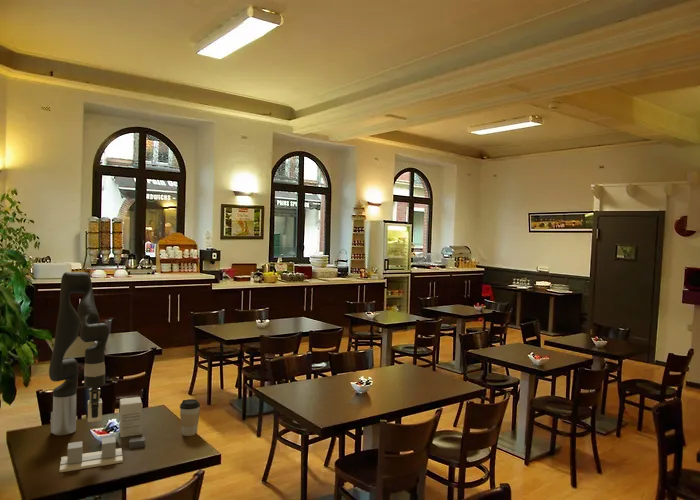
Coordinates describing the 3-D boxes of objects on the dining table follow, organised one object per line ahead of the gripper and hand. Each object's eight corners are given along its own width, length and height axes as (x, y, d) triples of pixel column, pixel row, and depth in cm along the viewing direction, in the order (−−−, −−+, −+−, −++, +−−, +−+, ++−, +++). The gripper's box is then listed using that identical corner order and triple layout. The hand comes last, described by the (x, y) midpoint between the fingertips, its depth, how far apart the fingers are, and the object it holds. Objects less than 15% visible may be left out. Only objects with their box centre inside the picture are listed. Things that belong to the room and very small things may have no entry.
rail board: (59, 472, 193) (59, 453, 193) (61, 459, 204) (61, 441, 204) (122, 462, 203) (122, 444, 203) (121, 450, 214) (121, 433, 213)
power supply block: (129, 448, 216) (129, 441, 216) (130, 445, 220) (130, 438, 220) (144, 447, 218) (144, 440, 218) (144, 443, 222) (145, 436, 221)
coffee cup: (201, 429, 239) (202, 397, 238) (196, 436, 230) (197, 404, 229) (182, 428, 238) (183, 397, 238) (176, 436, 229) (177, 403, 229)
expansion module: (87, 422, 200) (87, 404, 200) (87, 417, 206) (87, 399, 205) (101, 420, 203) (101, 402, 202) (101, 415, 208) (101, 398, 208)
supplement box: (119, 430, 234) (119, 398, 234) (140, 427, 238) (140, 396, 238) (120, 437, 226) (120, 404, 226) (141, 434, 230) (142, 402, 230)
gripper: (84, 370, 208) (84, 410, 209) (84, 378, 196) (84, 422, 196) (104, 368, 212) (104, 408, 212) (105, 376, 199) (105, 419, 199)
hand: (94, 414), depth 204 cm, fingers closed on expansion module, 6 cm apart
